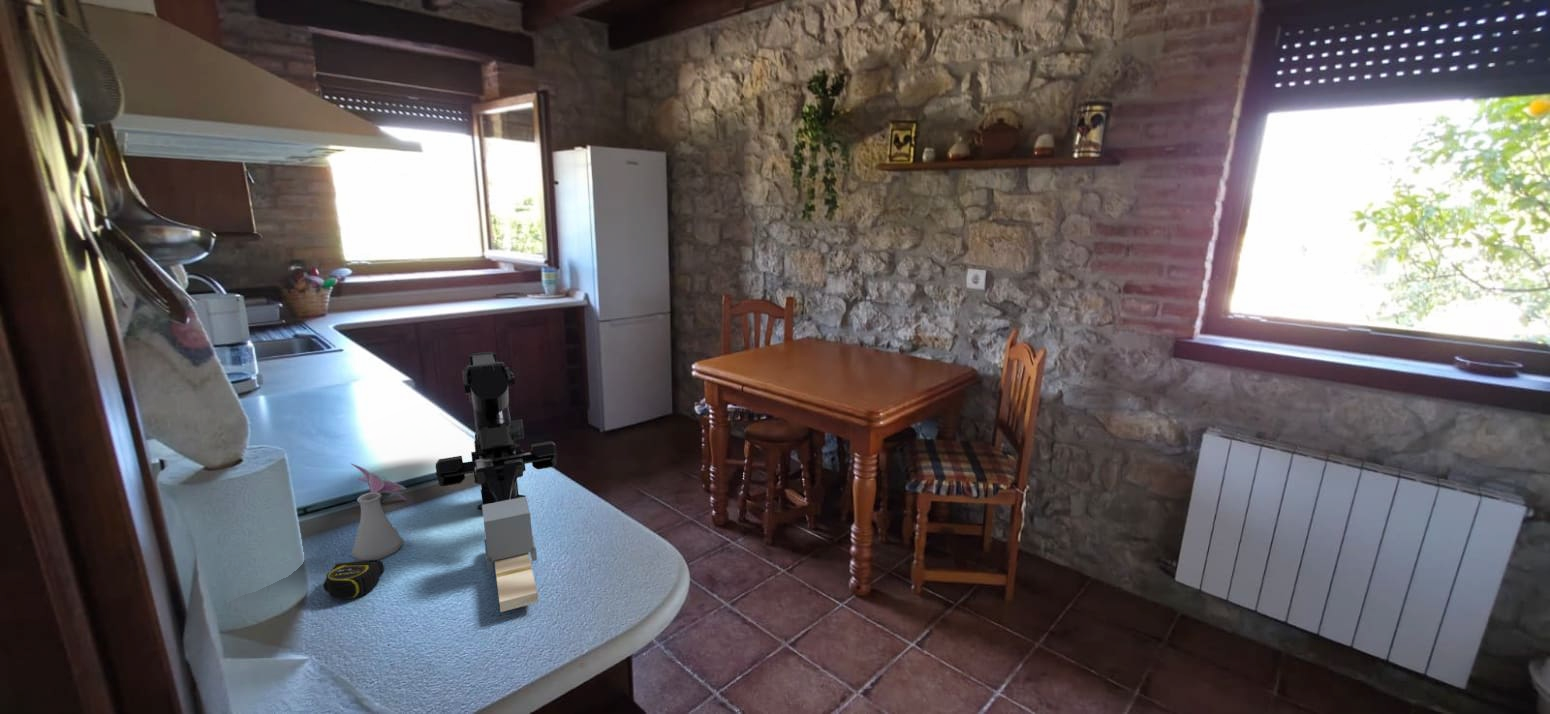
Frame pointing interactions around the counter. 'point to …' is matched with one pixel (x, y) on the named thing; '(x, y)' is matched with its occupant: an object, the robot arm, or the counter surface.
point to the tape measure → (353, 578)
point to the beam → (515, 582)
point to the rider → (507, 530)
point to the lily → (380, 483)
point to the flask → (374, 531)
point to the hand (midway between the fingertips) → (505, 510)
